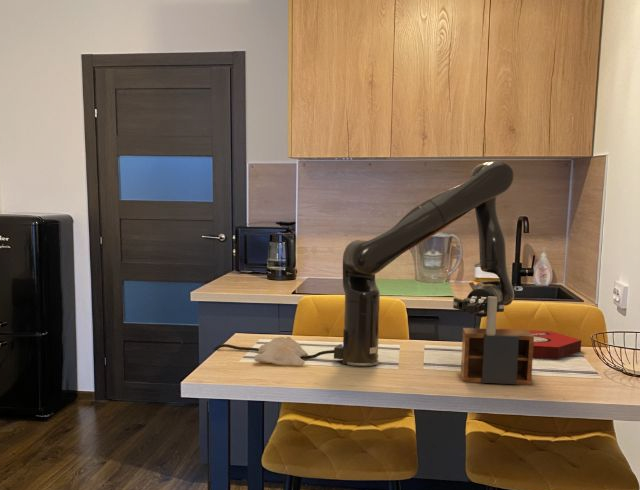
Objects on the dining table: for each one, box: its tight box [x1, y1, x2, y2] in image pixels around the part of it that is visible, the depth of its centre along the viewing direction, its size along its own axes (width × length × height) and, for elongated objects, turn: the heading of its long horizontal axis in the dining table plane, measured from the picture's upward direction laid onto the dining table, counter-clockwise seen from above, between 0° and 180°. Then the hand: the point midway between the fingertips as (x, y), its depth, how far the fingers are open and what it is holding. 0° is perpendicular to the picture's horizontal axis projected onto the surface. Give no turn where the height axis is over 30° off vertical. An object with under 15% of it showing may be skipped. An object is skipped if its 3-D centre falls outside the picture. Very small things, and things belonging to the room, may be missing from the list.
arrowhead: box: [254, 336, 309, 367], centre depth 210 cm, size 14×5×30 cm
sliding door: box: [481, 296, 519, 385], centre depth 178 cm, size 8×2×21 cm, turn 81°
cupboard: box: [460, 327, 534, 386], centre depth 183 cm, size 16×8×12 cm, turn 81°
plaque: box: [504, 328, 582, 361], centre depth 221 cm, size 27×4×30 cm
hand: (472, 309), depth 175 cm, fingers closed
